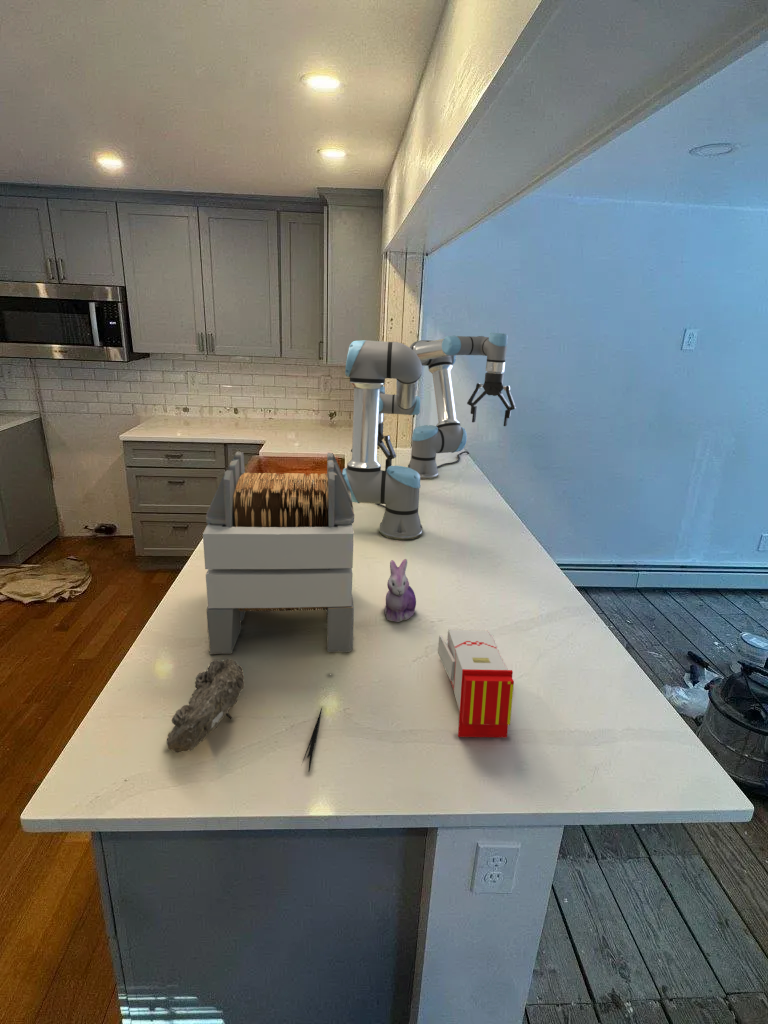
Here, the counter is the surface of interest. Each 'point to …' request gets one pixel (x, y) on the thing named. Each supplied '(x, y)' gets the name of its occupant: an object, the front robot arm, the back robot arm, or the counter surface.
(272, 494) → the grey record crate
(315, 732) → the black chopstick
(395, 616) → the figurine
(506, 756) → the counter surface
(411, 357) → the front robot arm
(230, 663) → the fossil
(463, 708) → the toy
